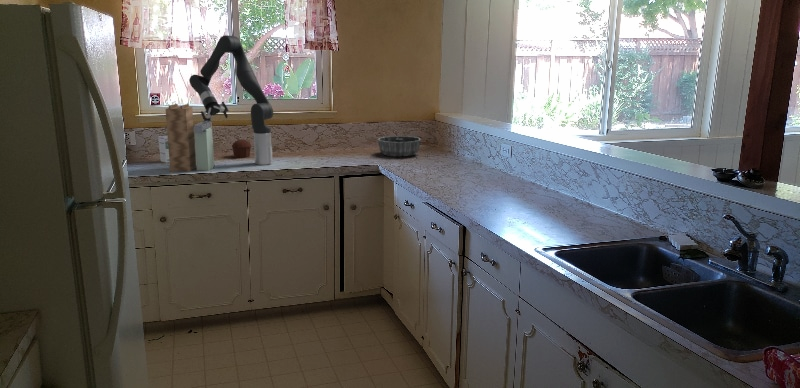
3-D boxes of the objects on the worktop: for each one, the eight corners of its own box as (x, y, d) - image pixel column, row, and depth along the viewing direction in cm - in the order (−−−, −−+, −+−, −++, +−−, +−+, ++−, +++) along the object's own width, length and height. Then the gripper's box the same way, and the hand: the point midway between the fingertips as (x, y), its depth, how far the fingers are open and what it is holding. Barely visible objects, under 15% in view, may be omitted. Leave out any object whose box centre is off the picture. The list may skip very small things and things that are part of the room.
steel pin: (212, 128, 327) (211, 120, 326) (202, 133, 307) (201, 125, 306) (204, 128, 326) (204, 120, 325) (194, 133, 307) (193, 125, 306)
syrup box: (166, 162, 335) (164, 136, 331) (160, 161, 338) (158, 135, 335) (175, 161, 339) (173, 135, 336) (169, 160, 343) (167, 134, 339)
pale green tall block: (214, 166, 327) (212, 127, 322) (209, 170, 315) (206, 129, 310) (202, 166, 326) (200, 126, 321) (196, 170, 315) (193, 129, 310)
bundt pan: (370, 156, 362) (370, 140, 360) (387, 150, 386) (387, 134, 384) (411, 160, 353) (411, 143, 350) (426, 153, 376) (427, 137, 374)
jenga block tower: (196, 166, 324) (192, 103, 317) (190, 171, 313) (185, 106, 305) (177, 166, 324) (172, 103, 316) (170, 171, 312) (165, 105, 304)
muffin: (247, 158, 350) (246, 141, 348) (229, 158, 352) (228, 140, 349) (255, 155, 361) (254, 138, 359) (237, 154, 363) (236, 138, 361)
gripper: (194, 102, 335) (204, 122, 328) (218, 91, 338) (229, 111, 330) (199, 110, 342) (209, 130, 334) (222, 99, 344) (233, 119, 337)
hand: (219, 120), depth 332 cm, fingers open, 8 cm apart
